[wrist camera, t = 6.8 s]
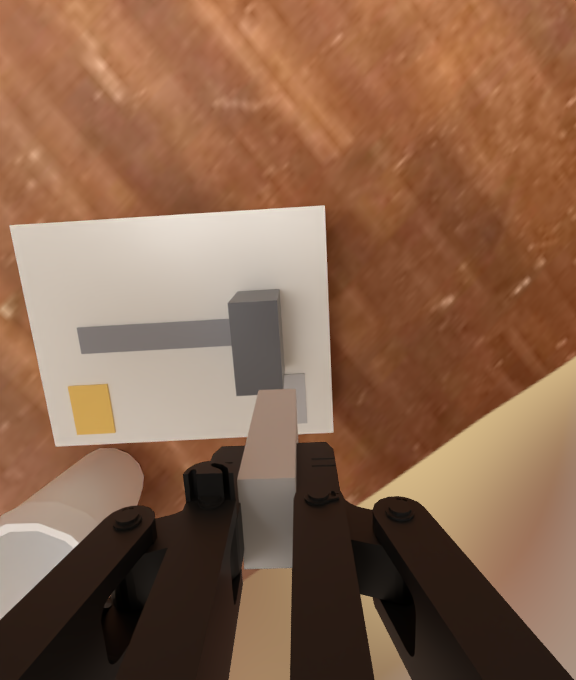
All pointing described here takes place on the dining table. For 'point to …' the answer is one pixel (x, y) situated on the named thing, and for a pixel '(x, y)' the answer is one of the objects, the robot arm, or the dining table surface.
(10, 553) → the foam cup
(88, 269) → the switch panel
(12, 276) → the dining table surface
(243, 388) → the knob
